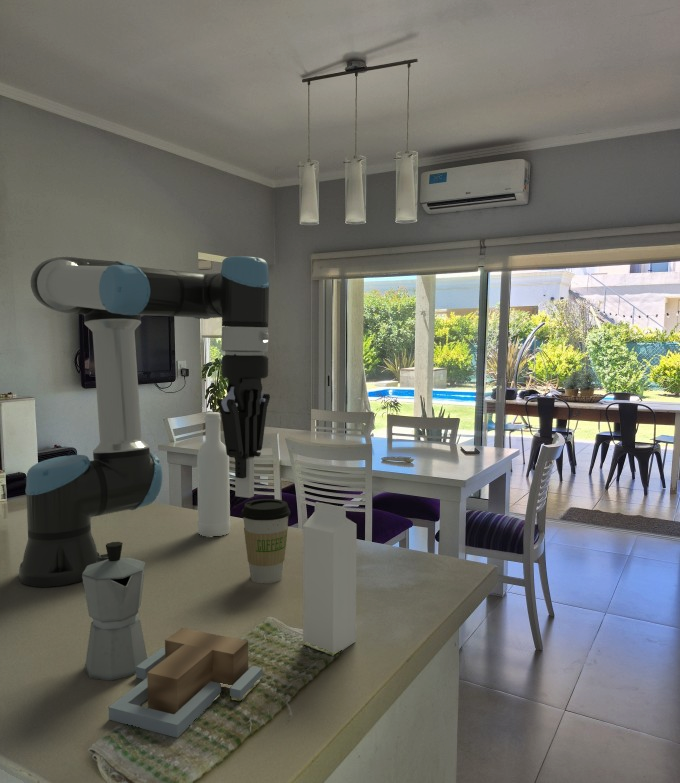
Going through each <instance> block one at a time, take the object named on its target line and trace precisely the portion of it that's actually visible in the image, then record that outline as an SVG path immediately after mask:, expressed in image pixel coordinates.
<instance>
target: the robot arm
mask: <svg viewBox="0 0 680 783" xmlns="http://www.w3.org/2000/svg"><path fill="white" fill-rule="evenodd" d="M269 276H270V275H269V264H268V262H267V261H266V260H265V259H264V258H261V257H256V256H245V255H235V256H228V257H225V258H224V259H222V262H221V269H220V272H217V273H216V272H215V273H204V272H203V273H201V272H196V271H195V272H192V271H182V270H172V269H162V268H154V267H145V266H137V265H135V264H133V263H128V262H127V263H126V262H121V261H118V260H116V261H115V260H114V261H113V260H102V259H91V258H82V257H81V258H80V257H74V256H58V257H57V256H56V257H51V258H50V259H46V260H44V261H42V262H41V263H39V264H38V265H37V266H36V267H35V269H34V270H33V272H32V274H31V276H30V288H31V292H32V294H33V296H34V298H35V299H36V300H37V302H38V303H40V304H41V305H43V306H45V307H46V308H48V309H50V310H53V311H56V312H59V313H64V314H65V313H66V314H75V315H83V322H84V325H85V326H86V327H87V328H88V329H89V330H90V331H91V332H92V342H93V356H94V357H93V358H94V372H95V388H96V401H97V402H96V403H97V416H98V432H99V433H98V434H99V444H98V445H97V446H96V447H95V448H94V449H93V451H92V453H93V454H92V455H93V456H92V457H93V458H92V459H93V460H90V459H89V458H90V457H88V456H87V455H84V454H71V455H63V456H56V457H53V458H49V459H45V460H42V461H39V462H37V463H35V464H34V465H32V466H31V467H30V468H29V469H28V471H27V473H26V482H25V485H26V486H25V489H24V490H25V494H26V518H27V519H26V520H27V542H26V545H25V546H26V547H25V549H24V554H23V558H22V562H21V563H20V565H19V569H18V572H19V574H18V575H19V576H18V577H19V582H21V584H24V585H26V586H31V587H39V588H41V587H42V588H45V587H46V588H49V587H60V586H66V585H71V584H75V583H79V582H83V578H82V573H83V572H84V570H85V569H86V567H87V566H88V565H91V564H94V563H96V561H97V557H98V556H100V555H101V554H100V553H99V552H98V549H97V546H96V542H95V539H94V538H93V535H92V526H91V525H92V522H91V519H92V518H93V517H98V516H99V517H101V516H105V515H108V514H109V515H110V514H113V513H118V512H123V511H134V510H137V509H139V508H144V507H147V506H149V505H152V503H154V501H155V500H156V499H157V497H158V496H159V494H160V492H161V488H162V483H163V469H162V468H163V467H162V464H161V463H160V459H159V457H158V456H157V455H156V454H154V453H151V452H150V451H151V450H150V445H149V444H147V443H146V442H145V441H144V440H143V438H142V428H141V427H142V424H141V410H140V409H141V408H140V397H139V396H140V395H139V381H138V367H137V364H138V363H137V352H136V349H137V348H136V337H135V335H136V334H135V331H136V329H137V328H138V327H139V326H140V325H141V324H142V319H141V318H142V317H144V316H156V317H157V316H159V317H160V316H161V317H162V316H163V317H164V316H165V317H180V318H193V319H198V320H199V319H201V320H202V319H203V320H209V319H217V318H219V319H221V347H220V348H221V351H222V352H224V354H223V355H222V356H221V376H222V377H223V378H225V379H227V380H228V383H227V387H226V395H225V397H223V398H218V399H217V401H216V402H217V407H218V409H219V413H220V417H221V421H222V422H221V424H222V429H223V438H224V445H225V446H226V453H227V455H228V456H229V458H234V475H235V476H234V478H235V479H234V480H235V483H234V485H235V487H234V488H235V489H234V490H235V492H234V493H235V494H234V496H235V497H240V498H246V499H247V498H248V499H250V498H253V497H254V496H255V457H260V456H261V454H262V452H261V451H262V449H263V445H264V444H263V443H264V435H265V428H266V427H265V426H266V418H267V410H268V406H269V403H270V399H271V396H270V393H264V392H263V384H262V379H266V378H268V376H269V357H268V355H265V353H267V352H268V351H269V339H270V334H269V316H270V315H269V309H270V308H269V304H270V298H269V297H270V284H271V283H270V280H269V279H270V278H269Z"/></svg>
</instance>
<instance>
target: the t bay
mask: <svg viewBox="0 0 680 783" xmlns="http://www.w3.org/2000/svg"><path fill="white" fill-rule="evenodd" d="M164 659H165V646H164V647H161V648H159V649H158V650H157V651H155V652H154V653H153V654H151V655H150V656H149V657H147V659H146V660H144V661H143V662H142V663H140V664H139V665H138V666H136V674H135V678H137V679H140V680H142V681H140V682H139V683H138V684H136V686H134V687H133V688H131V689H130V690H129V691H128V692H126V693H125V694H124V695H122V696H121V697H119V698H118V699H117V700H116V701H114V702H113V703H112V704H111V705H109V706H108V720H110V721H112V722H117V723H121V724H123V725H124V724H125V725H127V724H128V726H131V725H133V726H132V727H135V726H136V727H135V728H138V727H140V729H143V730H146V731H149V732H152V733H157V734H162V735H164V736H165V735H166V736H169V737H173V738H175V739H176V738H177V739H178V738H179V737H180V736H182V735H183V733H184V732H185V731H186V730H188V728H189V727H190V726H191V725H193V723H194V722H195V721H196V720H197V719H199V717H200V716H201V715H202V714H203V713H204V712H203V711H204V710H205V709H206V708H207V707H208V706H209V705H210V704H211V703H212V702H213V700H214V699H215V698H216V697H217V696H218V695H219V694H220V693H221V694H222V687H221V684H220V683H216V682H212V681H210V682H209V683H208V684H207V685H206V686H205V687H204V688H203V689H202V690H200V691H199V692H198V693H197V694H196V695H195V696H194V697H193V698H192V699H191V700H190V701H188V702H187V703H186V704H185V705H184V706H183V707H182V708H181V709H180V710H179V711H178V712H176V713H175V714H170V713H166V712H162V711H158V710H154V709H150V708H148V707H147V706H141V705H143V704H144V703H145V702H146V701H148V682H147V672H149V671H150V670H151V669H152V668H154V667H155V666H156V665H158V664H159V663H160V662H162V661H163V660H164ZM261 676H262V677H263V667H259V666H254V665H252V666H251V667H249V668H248V670H247V671H246V672H245V673H244V674H243V675H242V676H241V677H240V678H239V679H238V680H237V681H236V682H235V683H234V684H233V685H232V686H231V687H230V689H229V697H230V696H231V697H235V698H238V699H239V698H240V699H241V698H242V697H243V695H244V694H245V693H246V692H247V691H248V690H249V689H250V688H251V687H252V686H253V685H254V683H255V682H256V681H257V680H258V679H259V678H260V677H261ZM201 713H202V714H201ZM200 714H201V715H200ZM198 716H199V717H198ZM196 718H197V719H196ZM195 719H196V720H195ZM194 720H195V721H194ZM193 721H194V722H193ZM189 725H190V726H189Z"/></svg>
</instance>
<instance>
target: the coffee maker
mask: <svg viewBox="0 0 680 783" xmlns="http://www.w3.org/2000/svg"><path fill="white" fill-rule="evenodd" d="M123 545H124V544H123V542H121V541H112V542H111V541H110V542H109V543H106V544H105V549H106V553H105V554H104V553H103V554H99V555H100V556H98V557H97V561H96V563H94V564H91V565H88V566H87V567H86V569H85V570H84V572H83V573H82V578H83V581H82V584H83V589H84V595H85V599H86V607H87V611H88V616H89V618H92V622H91V623H90V629H89V634H88V635H89V637H88V643H87V644H88V645H87V651H86V657H85V658H86V659H85V664H84V669H85V671H86V673H87V675H88V678H89V679H94V680H103V681H108V682H109V681H112V682H113V681H116V680H118V679H123V678H126V677H129V676H133V675H136V666H138V665H139V664H140V663H142V662H143V661H144V660H146V659H147V658H148V654H147V649H146V644H145V639H144V633H143V627H142V622H141V618H140V616H139V615H138V614H139V609H140V607H141V605H142V598H143V588H144V587H143V586H144V580H145V571H146V570H145V569H146V561H143V560H140V559H136V558H133V557H122V556H121V555H122V549H123Z"/></svg>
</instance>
